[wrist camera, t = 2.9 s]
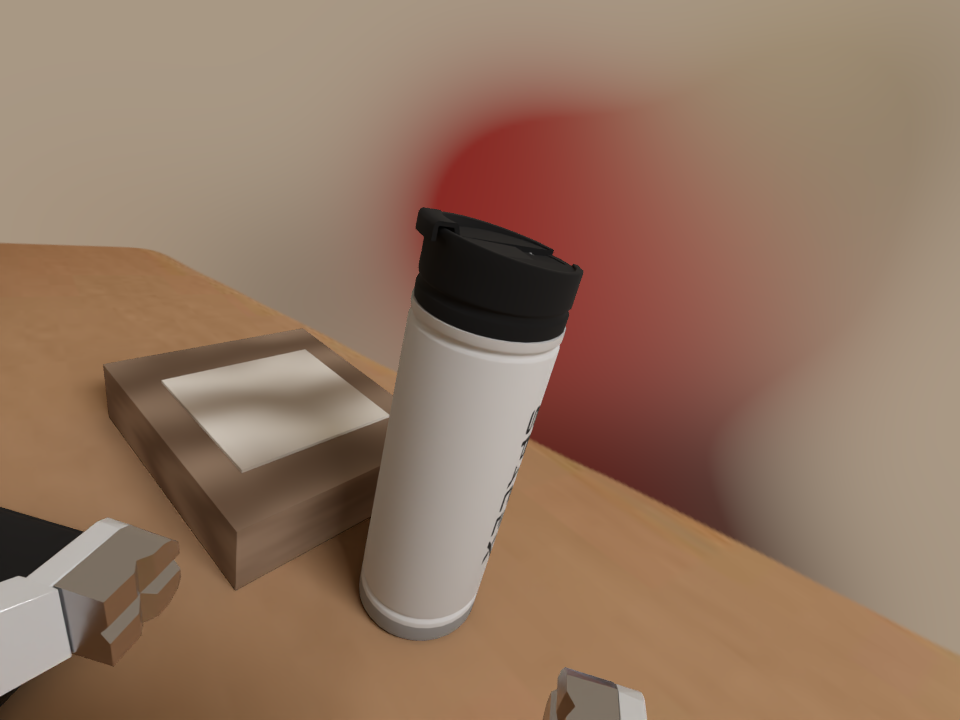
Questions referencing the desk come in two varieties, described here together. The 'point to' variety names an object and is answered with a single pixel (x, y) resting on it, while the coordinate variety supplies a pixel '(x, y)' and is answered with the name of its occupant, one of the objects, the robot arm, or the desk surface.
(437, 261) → the travel mug
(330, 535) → the walnut riser
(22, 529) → the carrying case or bag
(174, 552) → the robot arm
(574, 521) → the desk surface
